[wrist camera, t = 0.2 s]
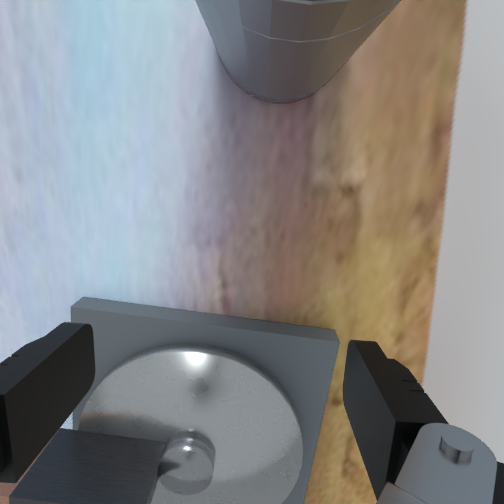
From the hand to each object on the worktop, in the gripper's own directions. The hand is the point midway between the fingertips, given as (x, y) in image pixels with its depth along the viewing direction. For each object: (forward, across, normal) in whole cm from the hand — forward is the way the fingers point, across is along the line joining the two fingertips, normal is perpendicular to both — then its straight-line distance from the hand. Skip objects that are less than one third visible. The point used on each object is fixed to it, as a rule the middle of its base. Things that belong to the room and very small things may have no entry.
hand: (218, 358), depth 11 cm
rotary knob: (+16, +5, +17) cm, 24 cm away
